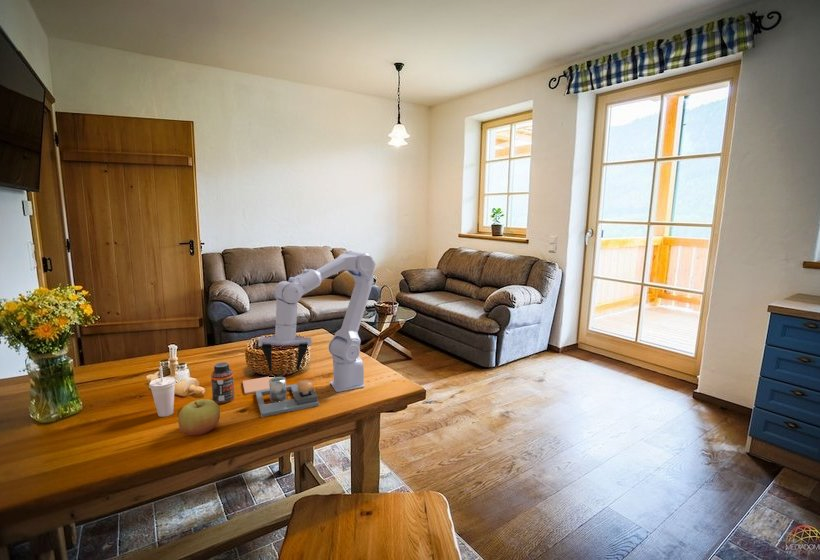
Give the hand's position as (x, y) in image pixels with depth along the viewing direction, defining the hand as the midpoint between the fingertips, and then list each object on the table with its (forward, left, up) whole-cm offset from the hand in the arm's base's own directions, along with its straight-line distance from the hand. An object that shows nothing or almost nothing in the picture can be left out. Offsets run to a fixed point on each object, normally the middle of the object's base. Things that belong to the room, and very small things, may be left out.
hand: (284, 369), depth 118 cm
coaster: (+5, -18, -11) cm, 22 cm away
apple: (+22, +4, -12) cm, 25 cm away
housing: (-1, -4, -11) cm, 12 cm away
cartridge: (+1, -6, -11) cm, 13 cm away
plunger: (-6, 0, -9) cm, 10 cm away
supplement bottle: (+16, -12, -11) cm, 23 cm away
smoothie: (+31, -10, -11) cm, 35 cm away
